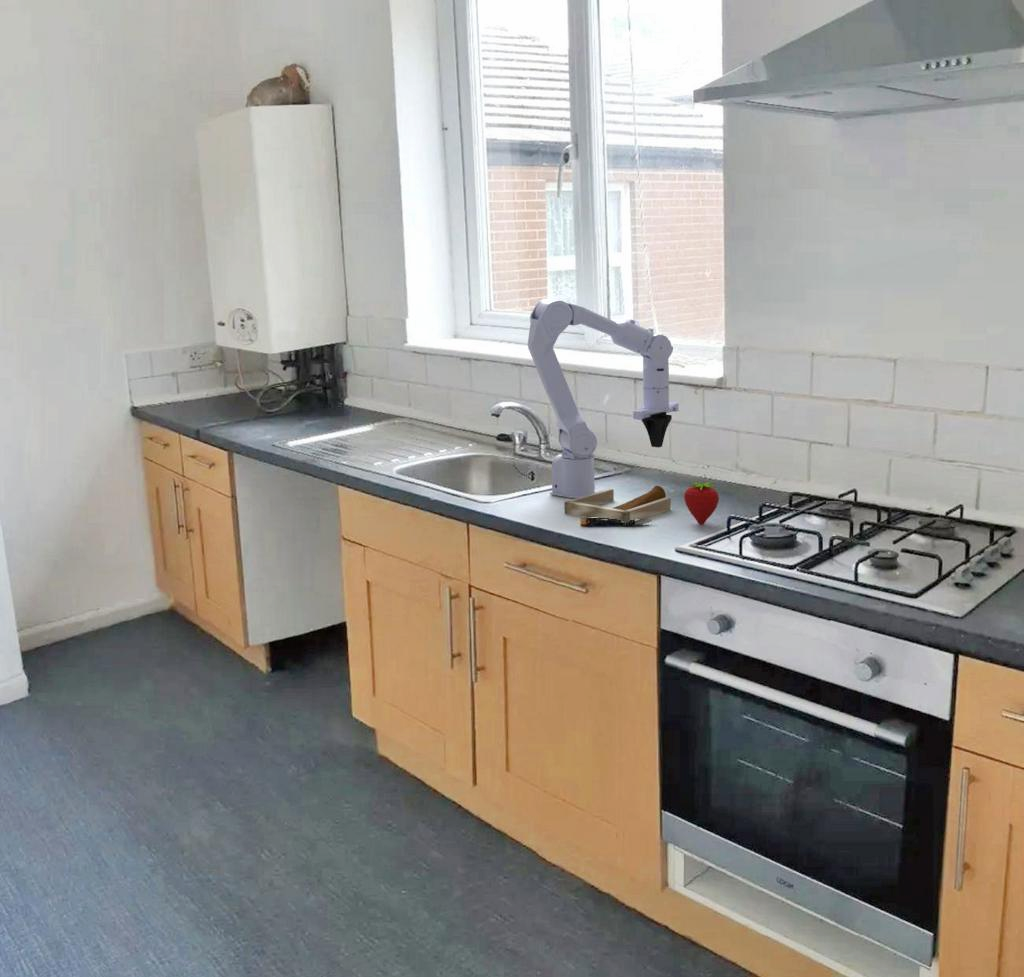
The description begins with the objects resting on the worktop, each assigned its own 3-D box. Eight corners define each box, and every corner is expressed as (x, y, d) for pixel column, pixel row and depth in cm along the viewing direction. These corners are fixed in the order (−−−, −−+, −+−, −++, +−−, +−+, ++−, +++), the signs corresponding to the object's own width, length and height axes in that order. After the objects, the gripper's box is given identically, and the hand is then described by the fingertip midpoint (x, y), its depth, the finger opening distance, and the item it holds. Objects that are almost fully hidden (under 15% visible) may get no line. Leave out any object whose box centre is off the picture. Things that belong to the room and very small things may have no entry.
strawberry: (697, 517, 222) (697, 469, 219) (725, 524, 216) (726, 475, 214) (677, 523, 218) (676, 474, 216) (705, 530, 212) (705, 479, 210)
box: (564, 513, 230) (564, 501, 229) (609, 499, 240) (609, 488, 240) (626, 524, 219) (626, 512, 218) (670, 509, 229) (670, 498, 229)
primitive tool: (618, 520, 224) (618, 504, 223) (596, 517, 227) (596, 501, 227) (667, 501, 238) (667, 486, 238) (646, 499, 242) (646, 483, 241)
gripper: (651, 392, 238) (651, 453, 241) (689, 384, 248) (689, 443, 251) (625, 390, 243) (626, 450, 246) (664, 382, 253) (664, 440, 256)
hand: (656, 446), depth 249 cm, fingers closed
